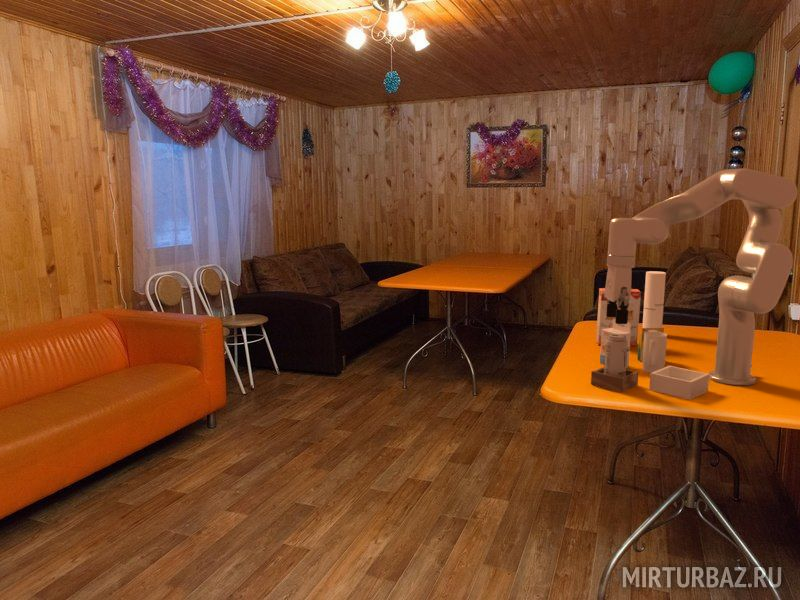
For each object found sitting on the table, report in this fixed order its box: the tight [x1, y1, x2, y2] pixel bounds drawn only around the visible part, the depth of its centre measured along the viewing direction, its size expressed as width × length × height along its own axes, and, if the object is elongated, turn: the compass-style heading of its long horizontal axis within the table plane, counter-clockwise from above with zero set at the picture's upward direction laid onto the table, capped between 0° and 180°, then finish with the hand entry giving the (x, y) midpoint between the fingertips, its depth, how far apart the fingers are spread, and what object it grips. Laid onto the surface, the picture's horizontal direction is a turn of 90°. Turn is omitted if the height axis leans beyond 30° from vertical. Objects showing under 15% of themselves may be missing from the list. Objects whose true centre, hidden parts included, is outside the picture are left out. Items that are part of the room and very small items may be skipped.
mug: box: [642, 332, 668, 373], centre depth 193 cm, size 10×7×12 cm, turn 146°
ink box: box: [599, 319, 631, 369], centre depth 200 cm, size 8×5×15 cm, turn 25°
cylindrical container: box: [641, 270, 667, 332], centre depth 242 cm, size 7×7×25 cm
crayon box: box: [637, 327, 665, 363], centre depth 206 cm, size 7×3×12 cm, turn 89°
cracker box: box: [595, 287, 642, 348], centre depth 227 cm, size 14×6×21 cm, turn 81°
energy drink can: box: [603, 334, 628, 377], centre depth 180 cm, size 6×6×15 cm
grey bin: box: [648, 365, 710, 401], centre depth 175 cm, size 12×12×5 cm
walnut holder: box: [590, 366, 639, 393], centre depth 181 cm, size 10×10×4 cm
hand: (616, 320), depth 178 cm, fingers open, 9 cm apart
